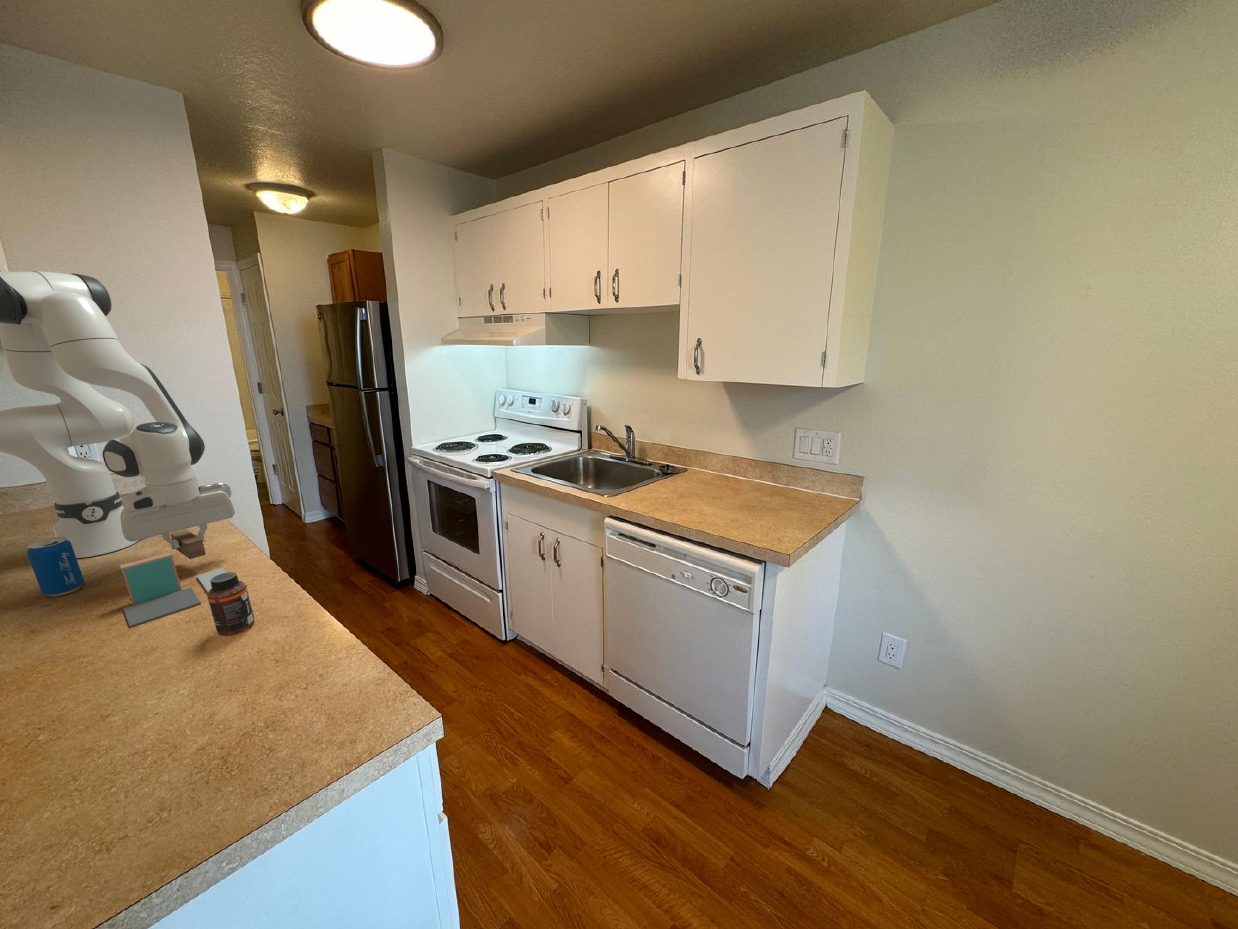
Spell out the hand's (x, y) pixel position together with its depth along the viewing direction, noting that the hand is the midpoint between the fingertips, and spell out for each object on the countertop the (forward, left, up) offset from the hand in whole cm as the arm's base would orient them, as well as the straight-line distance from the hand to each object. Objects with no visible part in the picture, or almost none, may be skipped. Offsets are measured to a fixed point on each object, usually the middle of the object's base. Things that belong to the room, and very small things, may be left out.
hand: (188, 544), depth 118 cm
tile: (+11, -8, -6) cm, 15 cm away
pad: (+13, +2, -6) cm, 15 cm away
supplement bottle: (+39, 0, -6) cm, 40 cm away
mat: (+17, -8, -6) cm, 20 cm away
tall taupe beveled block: (0, 0, -2) cm, 2 cm away
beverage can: (-9, -21, -6) cm, 24 cm away
